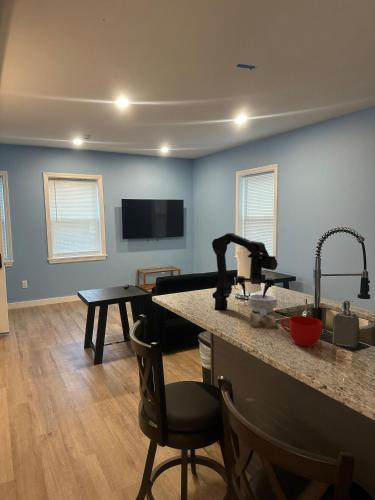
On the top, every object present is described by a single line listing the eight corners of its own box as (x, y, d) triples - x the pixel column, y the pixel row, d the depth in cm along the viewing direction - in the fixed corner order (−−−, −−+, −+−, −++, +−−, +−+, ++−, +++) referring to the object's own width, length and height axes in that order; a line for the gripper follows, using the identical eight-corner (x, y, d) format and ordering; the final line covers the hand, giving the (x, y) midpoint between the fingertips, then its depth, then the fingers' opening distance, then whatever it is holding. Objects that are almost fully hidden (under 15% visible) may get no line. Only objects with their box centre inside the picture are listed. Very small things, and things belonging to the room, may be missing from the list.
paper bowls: (266, 306, 198) (266, 293, 197) (281, 313, 183) (282, 299, 183) (243, 308, 192) (243, 294, 192) (257, 316, 178) (258, 301, 177)
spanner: (259, 322, 163) (259, 314, 163) (260, 316, 174) (260, 308, 174) (266, 323, 163) (266, 314, 162) (266, 316, 173) (266, 309, 173)
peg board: (251, 326, 160) (252, 318, 159) (250, 315, 179) (250, 307, 178) (277, 328, 158) (278, 320, 158) (273, 317, 177) (273, 309, 177)
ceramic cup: (286, 334, 151) (287, 312, 150) (325, 344, 141) (327, 320, 140) (273, 341, 141) (275, 318, 140) (314, 353, 131) (316, 328, 130)
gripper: (237, 268, 165) (235, 299, 167) (276, 271, 162) (274, 302, 164) (237, 264, 176) (235, 294, 178) (274, 267, 173) (272, 297, 175)
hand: (254, 297), depth 173 cm, fingers open, 9 cm apart
